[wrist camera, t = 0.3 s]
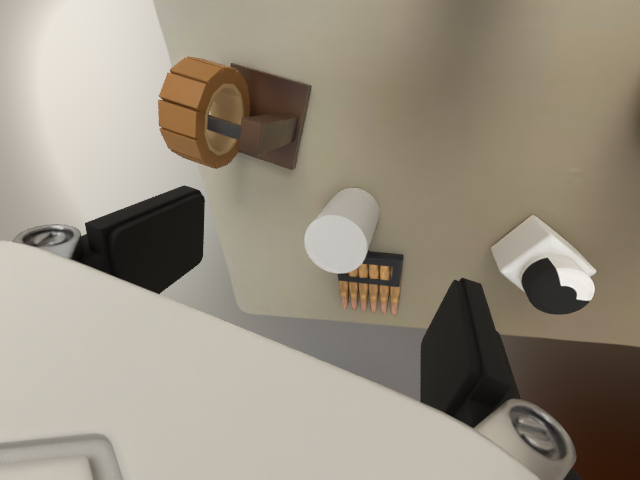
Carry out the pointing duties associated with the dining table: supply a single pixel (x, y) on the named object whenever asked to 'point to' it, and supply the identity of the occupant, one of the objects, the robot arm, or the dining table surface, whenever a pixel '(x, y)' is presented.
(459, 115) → the dining table surface
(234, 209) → the dining table surface
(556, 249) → the medicine bottle
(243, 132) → the hook stand
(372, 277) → the ammunition clip
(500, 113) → the dining table surface
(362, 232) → the cup
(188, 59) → the segmented brown cylinder
